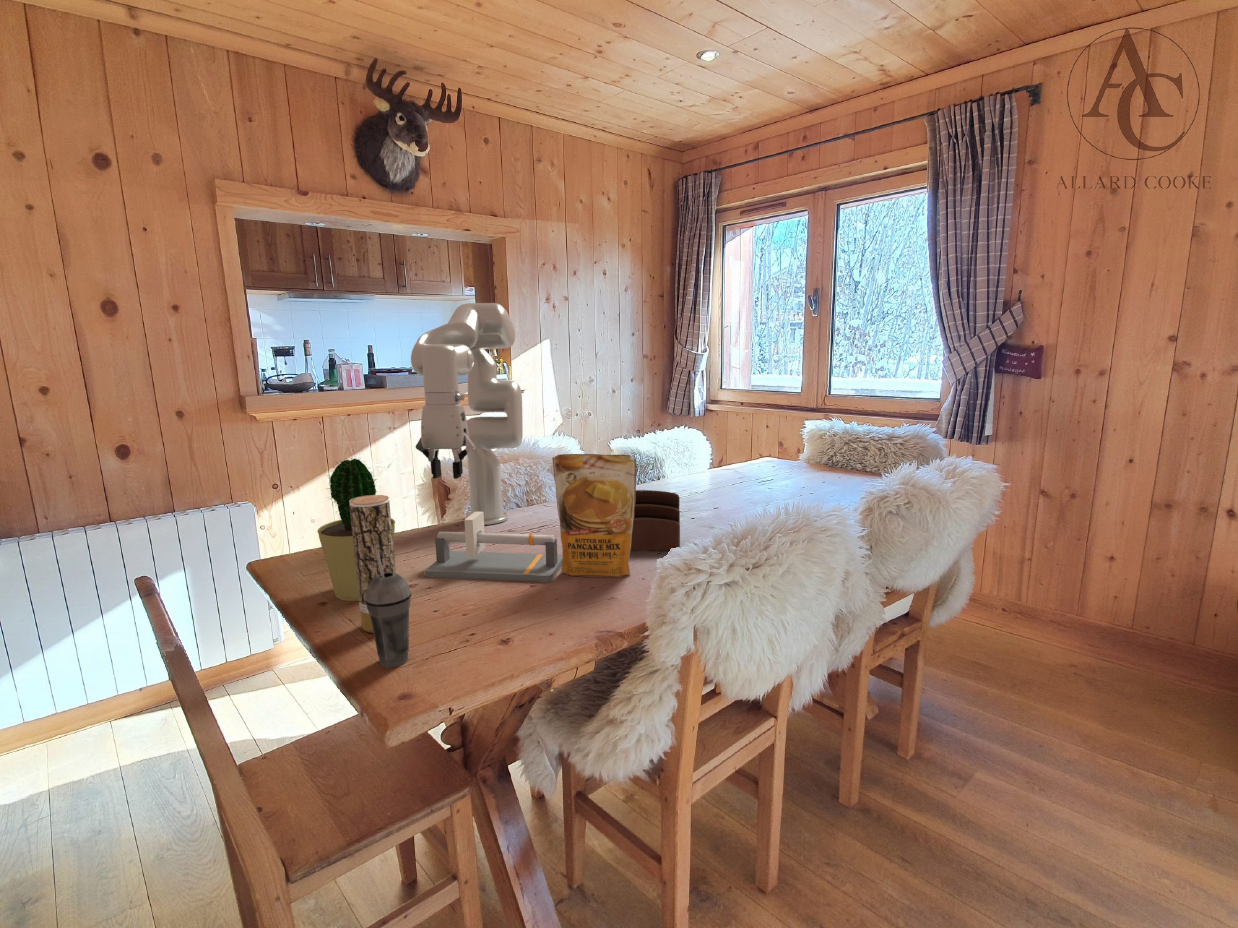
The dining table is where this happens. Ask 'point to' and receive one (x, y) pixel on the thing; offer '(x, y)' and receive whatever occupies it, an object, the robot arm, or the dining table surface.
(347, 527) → the potted cactus
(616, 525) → the pancake mix bag
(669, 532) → the letter holder
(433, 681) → the dining table surface
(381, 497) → the bark wrapped tube
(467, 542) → the collar
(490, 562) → the pipe rig
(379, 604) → the beverage cup
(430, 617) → the dining table surface
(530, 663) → the dining table surface
